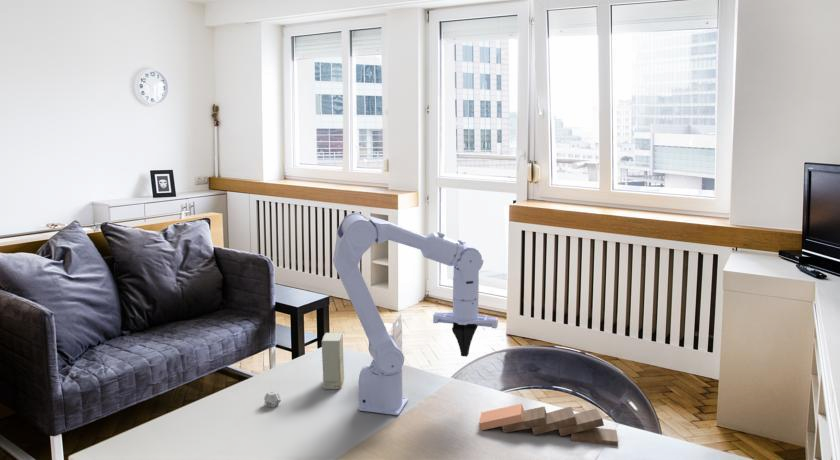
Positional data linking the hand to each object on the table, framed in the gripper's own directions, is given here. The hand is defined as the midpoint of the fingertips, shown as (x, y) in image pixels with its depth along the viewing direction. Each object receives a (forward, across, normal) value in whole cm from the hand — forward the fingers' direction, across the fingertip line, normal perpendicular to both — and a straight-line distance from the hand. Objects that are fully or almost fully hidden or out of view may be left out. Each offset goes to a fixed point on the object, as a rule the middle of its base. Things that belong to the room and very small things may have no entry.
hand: (464, 354), depth 152 cm
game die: (+11, -41, -15) cm, 45 cm away
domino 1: (+10, +11, -12) cm, 19 cm away
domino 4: (+10, +25, -12) cm, 29 cm away
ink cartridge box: (+11, -21, +9) cm, 25 cm away
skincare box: (+11, -32, -1) cm, 34 cm away
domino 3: (+10, +22, -11) cm, 26 cm away
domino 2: (+10, +17, -12) cm, 22 cm away
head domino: (+10, +6, -12) cm, 17 cm away
